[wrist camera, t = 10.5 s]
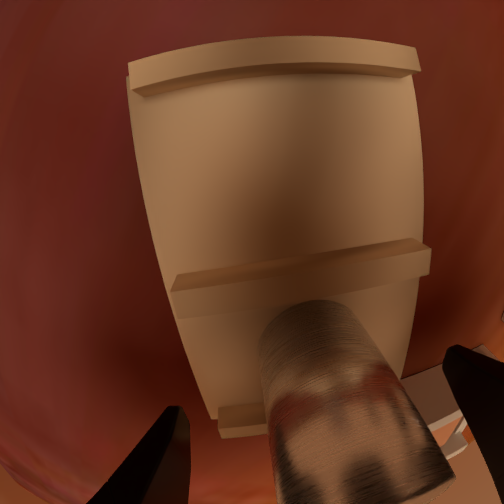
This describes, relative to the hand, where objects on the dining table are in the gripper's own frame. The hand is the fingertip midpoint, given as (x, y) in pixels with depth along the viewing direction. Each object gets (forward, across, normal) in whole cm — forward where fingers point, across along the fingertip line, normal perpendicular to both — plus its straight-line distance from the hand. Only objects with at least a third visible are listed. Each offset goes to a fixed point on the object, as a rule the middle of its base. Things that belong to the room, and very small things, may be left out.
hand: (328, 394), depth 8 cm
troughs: (+4, 0, -3) cm, 5 cm away
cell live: (+2, 0, 0) cm, 2 cm away
